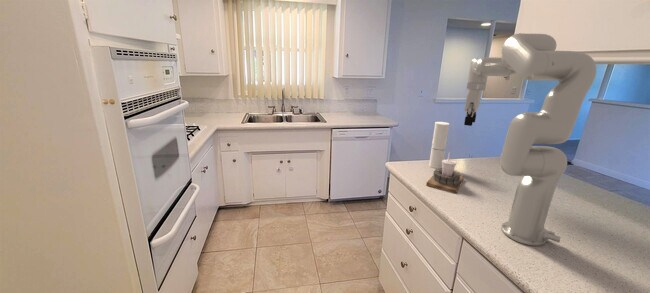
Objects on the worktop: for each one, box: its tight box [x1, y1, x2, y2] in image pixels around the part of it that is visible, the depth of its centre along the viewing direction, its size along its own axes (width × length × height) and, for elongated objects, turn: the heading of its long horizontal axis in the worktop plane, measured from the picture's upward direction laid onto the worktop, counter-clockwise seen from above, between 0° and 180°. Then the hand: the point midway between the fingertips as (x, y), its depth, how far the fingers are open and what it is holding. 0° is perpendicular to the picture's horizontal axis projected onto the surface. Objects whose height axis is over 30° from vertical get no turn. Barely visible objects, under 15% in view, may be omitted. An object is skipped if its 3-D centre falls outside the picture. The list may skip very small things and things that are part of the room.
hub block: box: [426, 168, 465, 194], centre depth 133 cm, size 13×18×5 cm
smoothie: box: [441, 152, 457, 177], centre depth 131 cm, size 6×6×14 cm
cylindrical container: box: [428, 121, 450, 170], centre depth 151 cm, size 7×7×25 cm
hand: (469, 123), depth 129 cm, fingers open, 9 cm apart
